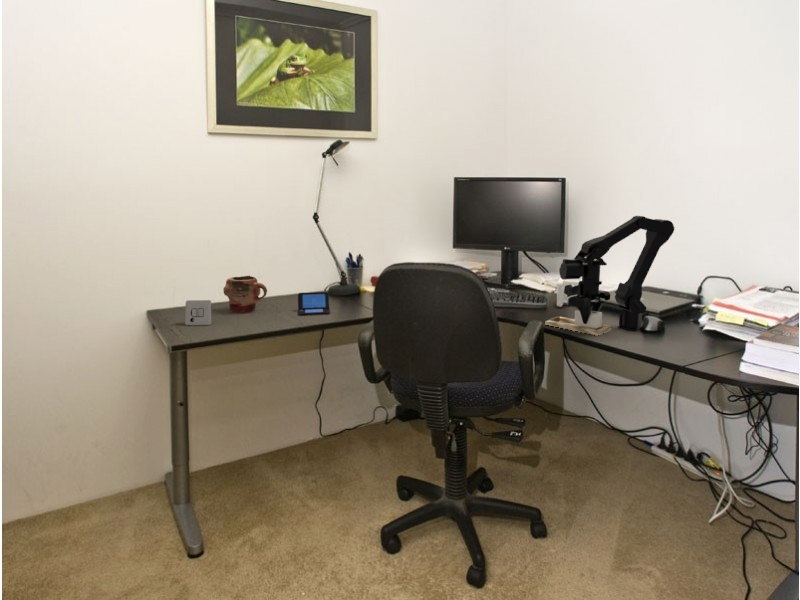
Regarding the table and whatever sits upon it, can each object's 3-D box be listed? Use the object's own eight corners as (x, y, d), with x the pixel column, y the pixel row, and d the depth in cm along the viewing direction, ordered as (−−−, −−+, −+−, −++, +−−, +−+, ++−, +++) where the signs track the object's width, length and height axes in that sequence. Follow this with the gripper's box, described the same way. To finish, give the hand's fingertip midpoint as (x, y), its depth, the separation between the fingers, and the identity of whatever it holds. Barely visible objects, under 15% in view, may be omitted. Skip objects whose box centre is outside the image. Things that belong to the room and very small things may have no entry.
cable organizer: (582, 310, 225) (584, 281, 223) (555, 308, 229) (556, 280, 227) (585, 302, 239) (586, 275, 237) (559, 301, 243) (560, 274, 240)
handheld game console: (298, 316, 220) (297, 298, 219) (298, 310, 231) (297, 292, 229) (330, 315, 222) (329, 296, 221) (329, 309, 233) (328, 291, 231)
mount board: (611, 330, 195) (611, 324, 194) (597, 336, 188) (597, 330, 188) (560, 320, 209) (560, 315, 208) (545, 325, 202) (545, 320, 202)
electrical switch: (184, 326, 207) (183, 301, 206) (190, 323, 212) (188, 299, 211) (210, 325, 207) (209, 300, 206) (214, 323, 212) (213, 299, 211)
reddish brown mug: (275, 308, 233) (273, 275, 231) (262, 315, 222) (260, 280, 219) (232, 306, 238) (229, 274, 235) (216, 313, 226) (214, 279, 223)
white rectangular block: (601, 326, 194) (602, 311, 193) (595, 328, 191) (596, 313, 190) (580, 322, 200) (581, 307, 199) (574, 324, 197) (575, 309, 196)
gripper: (583, 272, 204) (580, 314, 207) (555, 279, 192) (553, 323, 195) (612, 276, 196) (609, 319, 199) (585, 282, 184) (582, 329, 187)
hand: (588, 322), depth 195 cm, fingers closed on white rectangular block, 4 cm apart
